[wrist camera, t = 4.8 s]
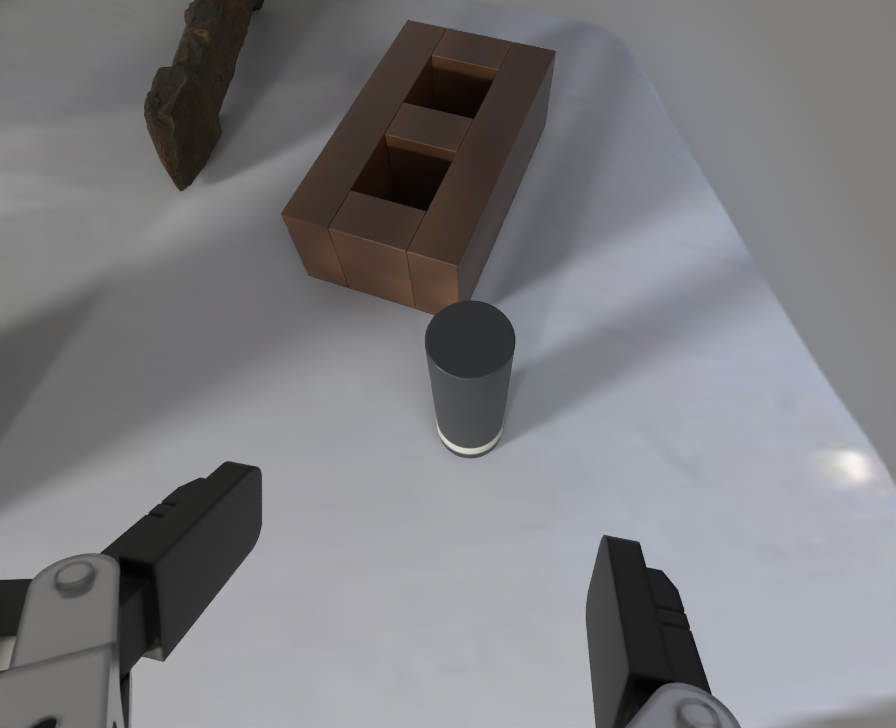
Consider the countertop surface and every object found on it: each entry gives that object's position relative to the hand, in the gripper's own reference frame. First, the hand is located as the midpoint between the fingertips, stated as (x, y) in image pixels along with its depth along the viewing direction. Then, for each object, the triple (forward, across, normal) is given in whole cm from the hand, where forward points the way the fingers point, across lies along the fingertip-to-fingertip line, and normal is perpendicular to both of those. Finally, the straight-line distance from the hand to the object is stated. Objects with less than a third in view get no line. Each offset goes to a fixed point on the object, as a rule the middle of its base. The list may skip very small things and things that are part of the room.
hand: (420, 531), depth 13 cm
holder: (+23, +5, -6) cm, 24 cm away
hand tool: (+28, +21, -11) cm, 37 cm away
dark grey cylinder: (+13, 0, +4) cm, 14 cm away
